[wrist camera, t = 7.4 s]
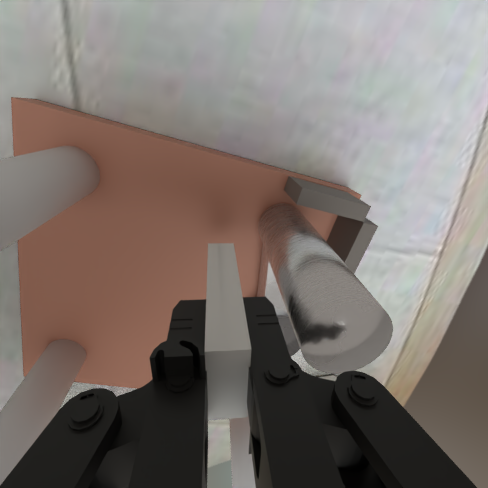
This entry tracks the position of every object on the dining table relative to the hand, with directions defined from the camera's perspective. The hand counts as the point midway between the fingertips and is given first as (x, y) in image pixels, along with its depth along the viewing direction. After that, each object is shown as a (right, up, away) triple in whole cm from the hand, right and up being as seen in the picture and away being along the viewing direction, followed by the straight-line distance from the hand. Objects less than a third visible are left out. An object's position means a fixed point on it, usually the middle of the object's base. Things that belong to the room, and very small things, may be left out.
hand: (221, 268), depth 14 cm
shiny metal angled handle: (+3, -1, +6) cm, 7 cm away
